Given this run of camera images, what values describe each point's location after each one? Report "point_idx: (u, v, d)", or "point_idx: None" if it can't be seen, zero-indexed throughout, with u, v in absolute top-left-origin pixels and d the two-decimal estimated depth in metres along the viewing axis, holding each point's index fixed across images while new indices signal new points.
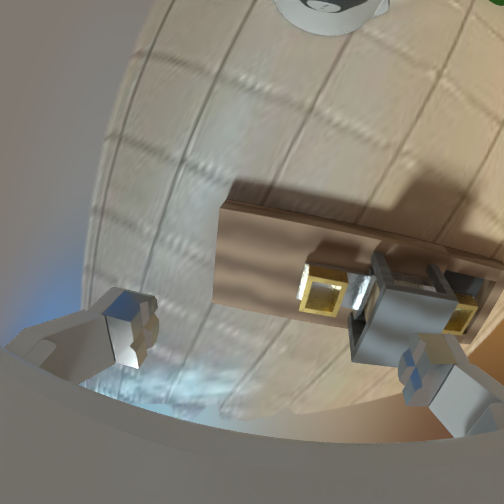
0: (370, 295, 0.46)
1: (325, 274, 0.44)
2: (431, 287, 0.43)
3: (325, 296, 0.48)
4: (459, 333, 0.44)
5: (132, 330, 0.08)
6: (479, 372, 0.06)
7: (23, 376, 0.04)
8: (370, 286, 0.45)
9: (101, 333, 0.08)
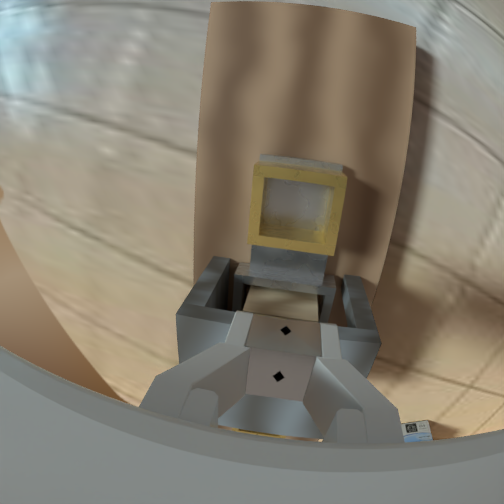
0: (286, 291, 0.27)
1: None
2: None
3: (272, 210, 0.25)
4: (235, 429, 0.33)
5: (281, 359, 0.07)
6: (348, 369, 0.07)
7: (23, 376, 0.04)
8: (312, 290, 0.26)
9: (242, 366, 0.07)
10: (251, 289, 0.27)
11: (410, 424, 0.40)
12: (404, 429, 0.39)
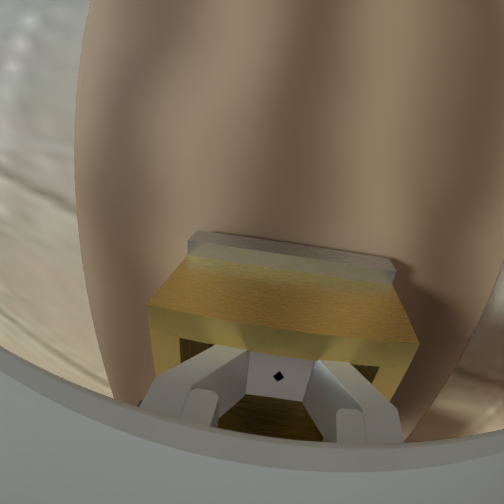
0: None
1: None
2: None
3: None
4: None
5: (281, 360, 0.07)
6: (348, 369, 0.07)
7: (23, 376, 0.04)
8: None
9: (242, 367, 0.07)
10: None
11: None
12: None
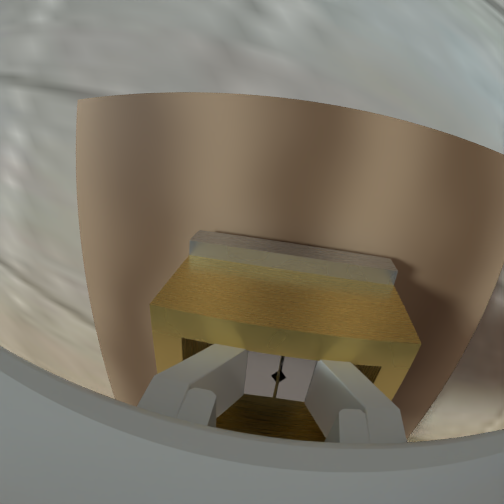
0: None
1: None
2: None
3: None
4: None
5: (279, 359, 0.07)
6: (350, 369, 0.07)
7: (23, 376, 0.04)
8: None
9: (241, 366, 0.07)
10: None
11: None
12: None
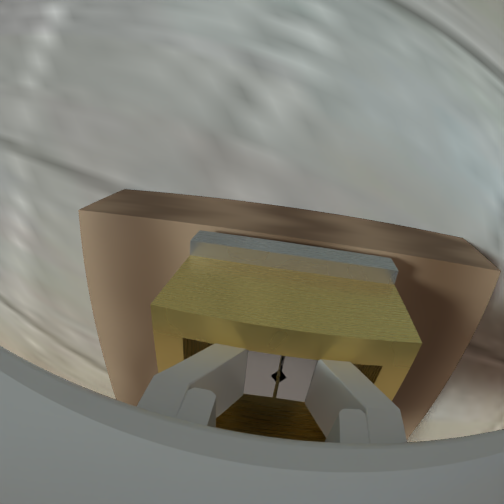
0: None
1: None
2: None
3: None
4: None
5: (279, 359, 0.07)
6: (350, 369, 0.07)
7: (23, 376, 0.04)
8: None
9: (241, 366, 0.07)
10: None
11: None
12: None
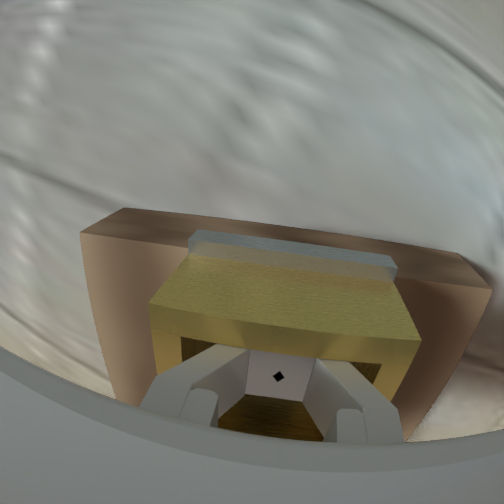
0: None
1: None
2: None
3: None
4: None
5: (281, 360, 0.07)
6: (348, 369, 0.07)
7: (23, 376, 0.04)
8: None
9: (242, 366, 0.07)
10: None
11: None
12: None
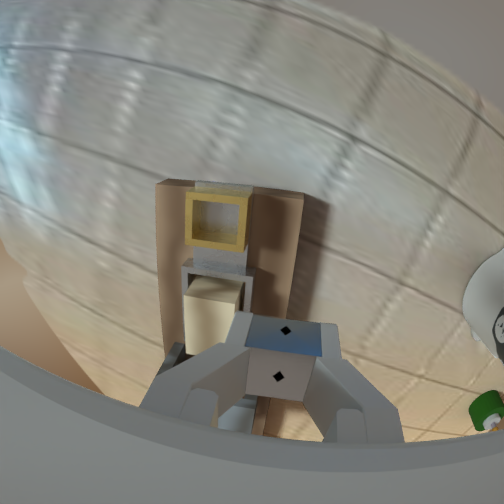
0: (219, 283, 0.38)
1: (247, 218, 0.33)
2: None
3: (205, 221, 0.36)
4: None
5: (281, 360, 0.07)
6: (348, 369, 0.07)
7: (23, 376, 0.04)
8: (235, 278, 0.36)
9: (242, 366, 0.07)
10: (194, 281, 0.38)
11: None
12: None
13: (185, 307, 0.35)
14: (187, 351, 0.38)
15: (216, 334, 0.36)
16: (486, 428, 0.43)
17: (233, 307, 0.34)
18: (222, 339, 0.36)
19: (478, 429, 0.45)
